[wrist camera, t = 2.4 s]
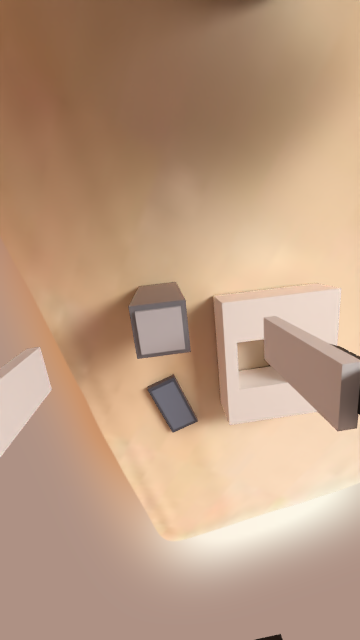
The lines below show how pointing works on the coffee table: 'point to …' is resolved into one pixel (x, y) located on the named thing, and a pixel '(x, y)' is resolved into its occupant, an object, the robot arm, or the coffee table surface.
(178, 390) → the phone
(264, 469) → the coffee table surface
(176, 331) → the block
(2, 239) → the coffee table surface
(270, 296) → the outlet plate
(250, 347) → the coffee table surface
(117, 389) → the coffee table surface
